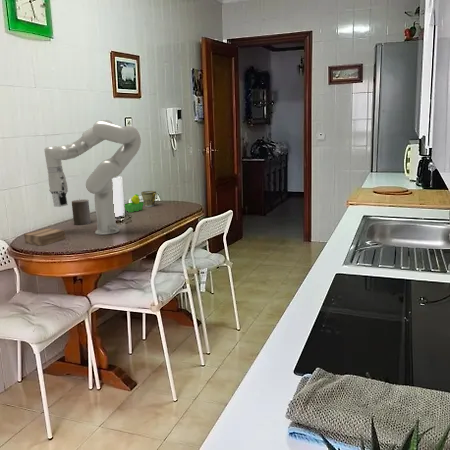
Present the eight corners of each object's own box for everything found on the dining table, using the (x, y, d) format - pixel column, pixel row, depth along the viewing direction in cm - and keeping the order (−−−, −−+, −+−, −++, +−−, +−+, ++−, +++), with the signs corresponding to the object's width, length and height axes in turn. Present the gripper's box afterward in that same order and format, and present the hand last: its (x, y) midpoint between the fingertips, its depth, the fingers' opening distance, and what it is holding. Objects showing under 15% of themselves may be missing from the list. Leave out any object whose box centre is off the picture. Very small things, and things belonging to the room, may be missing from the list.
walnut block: (65, 239, 255) (64, 230, 254) (42, 246, 243) (40, 236, 242) (48, 237, 263) (47, 228, 261) (25, 243, 251) (24, 234, 250)
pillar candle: (74, 226, 286) (71, 200, 283) (73, 223, 295) (70, 198, 292) (92, 224, 290) (89, 198, 286) (89, 221, 299) (87, 196, 295)
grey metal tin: (67, 205, 265) (65, 192, 264) (59, 206, 261) (57, 193, 260) (62, 204, 268) (60, 191, 267) (54, 206, 264) (51, 193, 263)
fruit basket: (137, 209, 329) (135, 192, 327) (146, 210, 323) (144, 193, 321) (123, 212, 321) (121, 195, 319) (132, 213, 315) (130, 195, 313)
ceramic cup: (139, 207, 337) (137, 192, 334) (149, 204, 344) (148, 190, 342) (152, 208, 329) (151, 193, 327) (163, 205, 337) (162, 191, 334)
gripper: (71, 169, 259) (76, 203, 262) (51, 169, 269) (57, 202, 273) (58, 171, 253) (64, 206, 257) (39, 171, 263) (45, 205, 267)
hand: (60, 203), depth 265 cm, fingers closed on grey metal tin, 5 cm apart
